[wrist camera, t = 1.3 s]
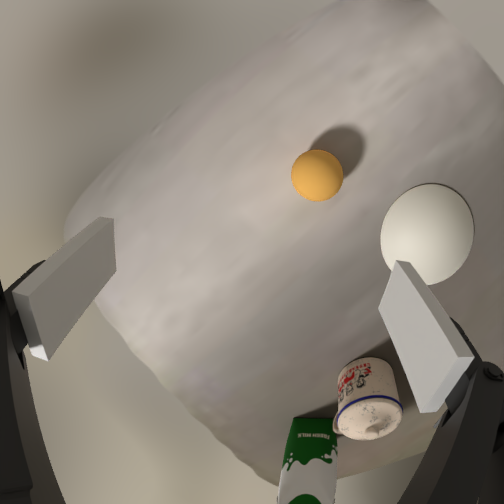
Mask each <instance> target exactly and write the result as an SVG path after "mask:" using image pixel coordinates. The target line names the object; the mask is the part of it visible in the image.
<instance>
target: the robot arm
mask: <svg viewBox="0 0 504 504" xmlns="http://www.w3.org/2000/svg"><path fill="white" fill-rule="evenodd" d="M115 272H116V259H115V242H114V219H112V218H104V217H99V218H97V219H96V220H95V221H94V222H92V223H91V224H90V225H88V226H87V227H86V228H85V229H83V230H82V231H81V232H80V233H78V234H77V235H76V236H75V237H73V238H72V239H71V240H70V241H68V242H67V243H66V244H65V245H64V246H63V247H61V248H60V249H59V250H58V251H57V252H55V253H54V254H53V255H52V256H51V257H49V258H48V259H47V260H43V261H41V262H39V263H37V264H35V265H33V266H32V267H31V268H30V269H29V270H28V271H27V272H26V273H24V274H23V275H22V276H21V278H19V279H18V280H16V281H15V282H14V283H13V284H12V285H11V286H10V287H9V288H8V289H7V290H6V291H4V292H3V288H2V285H1V281H0V504H66V503H65V501H64V498H63V496H62V493H61V491H60V488H59V485H58V483H57V480H56V478H55V475H54V472H53V469H52V466H51V463H50V460H49V457H48V454H47V451H46V447H45V444H44V441H43V437H42V433H41V430H40V426H39V423H38V419H37V414H36V410H35V406H34V401H33V397H32V392H31V387H30V382H29V377H28V370H27V365H26V358H25V355H24V352H23V349H24V348H25V346H26V345H27V344H28V345H29V347H30V350H31V353H32V355H33V356H35V357H38V358H41V359H43V360H46V361H49V360H50V358H51V357H52V355H53V354H54V353H55V351H56V350H57V348H58V347H59V345H60V344H61V343H62V341H63V340H64V338H65V337H66V336H67V334H68V333H69V332H70V330H71V329H72V328H73V326H74V325H75V323H76V322H77V321H78V319H79V318H80V317H81V315H82V314H83V313H84V311H85V310H86V309H87V307H88V306H89V305H90V304H91V302H92V301H93V300H94V298H95V297H96V296H97V295H98V293H99V292H100V291H101V289H102V288H103V287H104V286H105V284H106V283H107V282H108V281H109V279H110V278H111V277H112V276H113V274H114V273H115ZM378 309H379V312H380V314H381V316H382V318H383V321H384V323H385V325H386V327H387V330H388V332H389V334H390V337H391V339H392V342H393V344H394V346H395V349H396V351H397V354H398V356H399V358H400V361H401V363H402V366H403V368H404V371H405V374H406V376H407V379H408V381H409V384H410V386H411V389H412V392H413V394H414V397H415V400H416V403H417V405H418V408H419V411H420V413H426V412H437V410H438V409H439V408H440V407H441V405H442V404H443V403H444V401H445V402H446V404H447V406H448V409H447V410H446V411H445V413H444V414H443V415H442V417H441V418H440V419H439V420H438V421H437V423H436V424H435V425H434V426H433V427H434V428H436V427H437V426H438V428H437V430H436V432H435V434H434V436H433V439H432V441H431V443H430V445H429V447H428V449H427V451H426V453H425V455H424V457H423V459H422V461H421V463H420V465H419V467H418V469H417V471H416V472H415V474H414V476H413V478H412V480H411V481H410V483H409V485H408V487H407V488H406V490H405V492H404V494H403V495H402V497H401V499H400V500H399V502H398V503H397V504H476V503H477V500H478V497H479V501H478V504H504V373H503V372H502V370H501V369H500V368H499V367H498V366H496V365H495V364H493V363H490V362H483V361H482V359H481V358H480V356H479V354H478V353H477V351H476V350H475V348H474V346H473V345H472V343H471V342H469V339H468V337H467V336H466V335H465V333H464V331H463V330H462V328H461V327H460V325H459V324H458V323H457V322H455V321H454V320H453V319H452V318H451V317H449V316H448V315H447V313H446V312H445V310H444V309H443V307H442V306H441V305H440V303H439V302H438V300H437V299H436V297H435V296H434V295H433V293H432V292H431V290H430V289H429V288H428V286H427V285H426V283H425V282H424V281H423V279H422V278H421V277H420V275H419V274H418V273H417V271H416V270H415V269H414V267H413V266H412V265H411V263H410V262H406V261H400V260H396V261H395V264H394V267H393V270H392V273H391V276H390V279H389V281H388V284H387V287H386V290H385V292H384V295H383V297H382V300H381V303H380V305H379V308H378Z"/></svg>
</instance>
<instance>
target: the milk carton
mask: <svg viewBox="0 0 504 504" xmlns="http://www.w3.org/2000/svg"><path fill="white" fill-rule="evenodd" d="M333 421H334V419H315V418H294V419H293V422H292V426H291V429H290V433H289V436H288V440H287V443H286V448H285V454H284V460H283V466H282V472H281V478H280V483H279V496H278V497H277V504H334V503H335V499H334V496H335V492H336V480H337V439H336V433H335V432H334V431H333ZM333 501H334V503H333Z"/></svg>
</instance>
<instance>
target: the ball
mask: <svg viewBox="0 0 504 504" xmlns="http://www.w3.org/2000/svg"><path fill="white" fill-rule="evenodd" d="M291 178H292V183H293V185H294V187H295V189H296V191H297V192H298V193H299V194H300V195H301V196H303V197H304V198H306V199H308V200H311V201H324V200H327V199H330V198H331V197H333V196H334V195H335V194H336V193H337V192H338V191H339V189H340V188H341V185H342V182H343V170H342V167H341V164H340V163H339V161H338V160H337V158H336V157H335V156H333V155H332V154H331V153H329V152H327V151H324V150H310V151H307V152H305V153H303V154H302V155H300V156H299V157H298V158H297V159H296V161H295V162H294V164H293V167H292V172H291Z"/></svg>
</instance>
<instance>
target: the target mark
mask: <svg viewBox="0 0 504 504" xmlns="http://www.w3.org/2000/svg"><path fill="white" fill-rule="evenodd" d="M473 237H474V224H473V218H472V215H471V212H470V210H469V208H468V206H467V204H466V203H465V201H464V200H463V199H462V198H461V196H460V195H458V194H457V193H456V192H455V191H453V190H451V189H449V188H447V187H445V186H441V185H436V184H425V185H420V186H417V187H414V188H412V189H410V190H408V191H406V192H405V193H404V194H402V195H401V196H400V197H399V198H398V199H397V200H396V201H395V202H394V203H393V204H392V206H391V207H390V209H389V210H388V212H387V214H386V216H385V218H384V221H383V224H382V229H381V236H380V241H381V250H382V254H383V257H384V259H385V261H386V264H387V265H388V267H389V268H390V270H391V271H392V270H393V267H394V264H395V261H396V260H400V261H406V262H410V263H411V265H412V266H413V267H414V269H415V270H416V271H417V273H418V274H419V275H420V277H421V278H422V279H423V281H424V282H425V283H426V285H431V284H435V283H438V282H441V281H443V280H445V279H447V278H448V277H450V276H451V275H453V274H454V273H455V272H456V271H457V270H458V269H459V268H460V267H461V266H462V264H463V263H464V261H465V260H466V258H467V256H468V254H469V252H470V250H471V246H472V243H473Z"/></svg>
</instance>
